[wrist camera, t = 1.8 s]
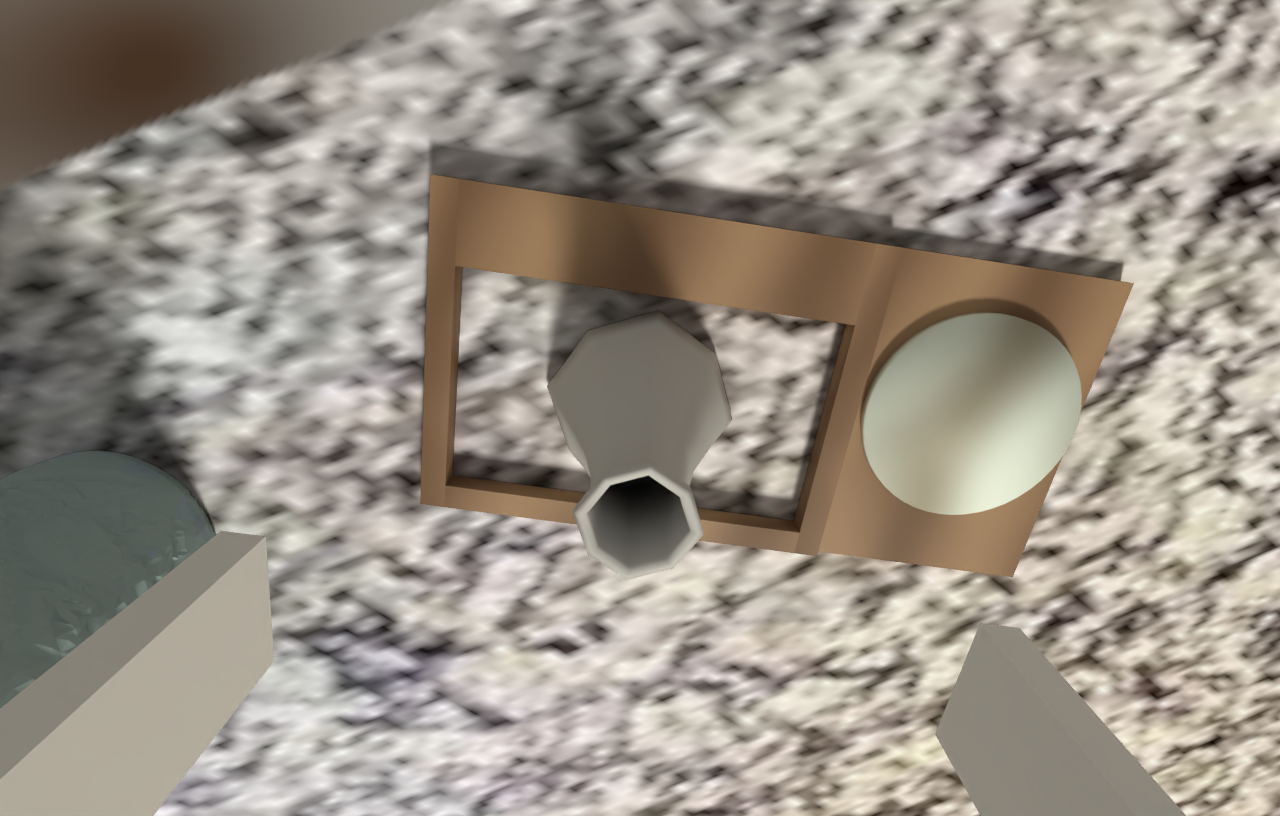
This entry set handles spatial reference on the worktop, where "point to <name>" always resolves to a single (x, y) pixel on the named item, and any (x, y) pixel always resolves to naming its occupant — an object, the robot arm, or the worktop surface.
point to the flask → (640, 438)
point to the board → (861, 381)
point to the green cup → (83, 552)
